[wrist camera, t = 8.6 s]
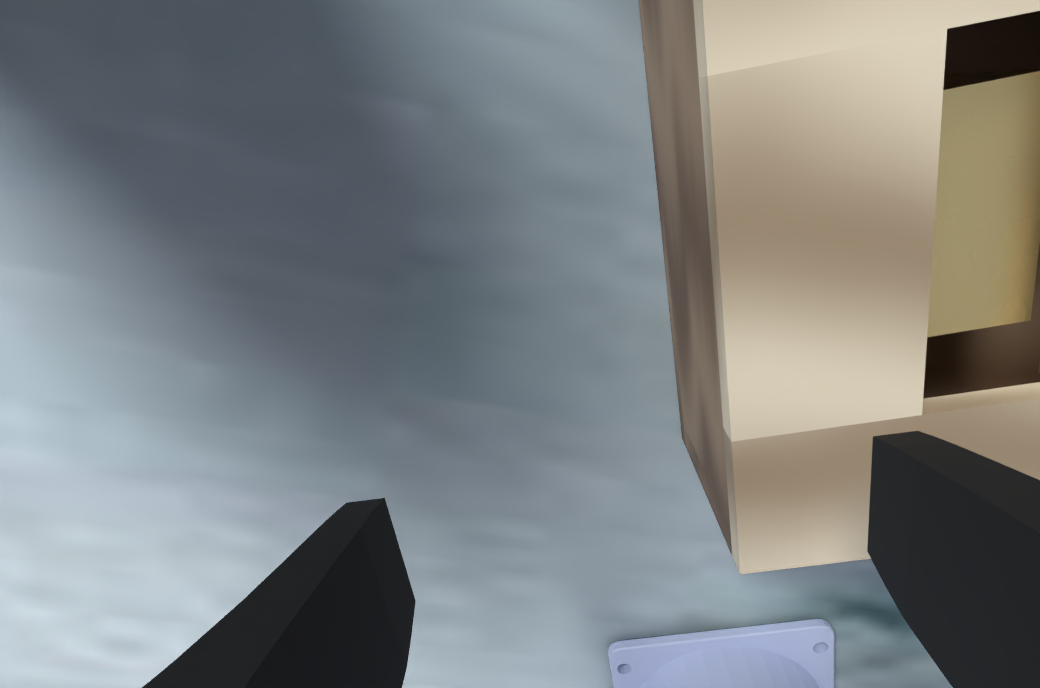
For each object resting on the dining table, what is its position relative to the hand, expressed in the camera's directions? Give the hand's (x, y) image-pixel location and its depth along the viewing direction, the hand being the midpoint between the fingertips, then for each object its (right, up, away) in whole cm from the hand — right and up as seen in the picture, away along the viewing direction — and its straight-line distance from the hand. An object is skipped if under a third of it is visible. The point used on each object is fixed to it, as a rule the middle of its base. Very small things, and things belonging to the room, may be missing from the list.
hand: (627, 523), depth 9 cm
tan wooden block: (+8, +7, +7) cm, 12 cm away
